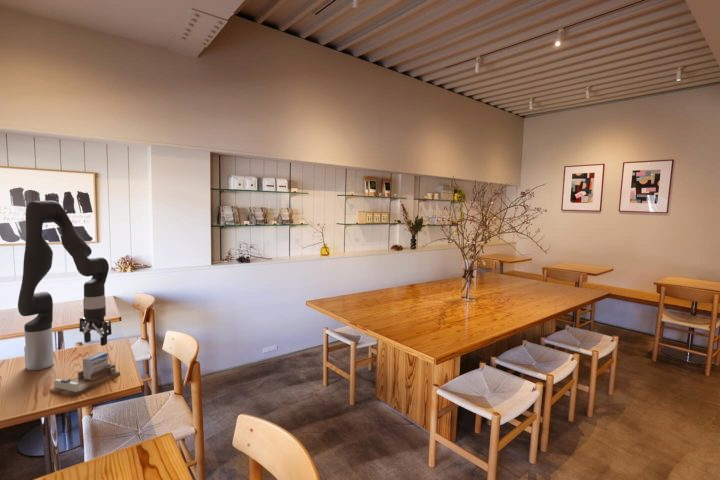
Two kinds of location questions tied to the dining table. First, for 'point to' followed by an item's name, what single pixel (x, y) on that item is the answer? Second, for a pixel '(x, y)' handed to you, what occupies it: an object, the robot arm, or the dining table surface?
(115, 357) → the dining table surface
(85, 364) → the medicine box
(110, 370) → the housing
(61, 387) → the gate
